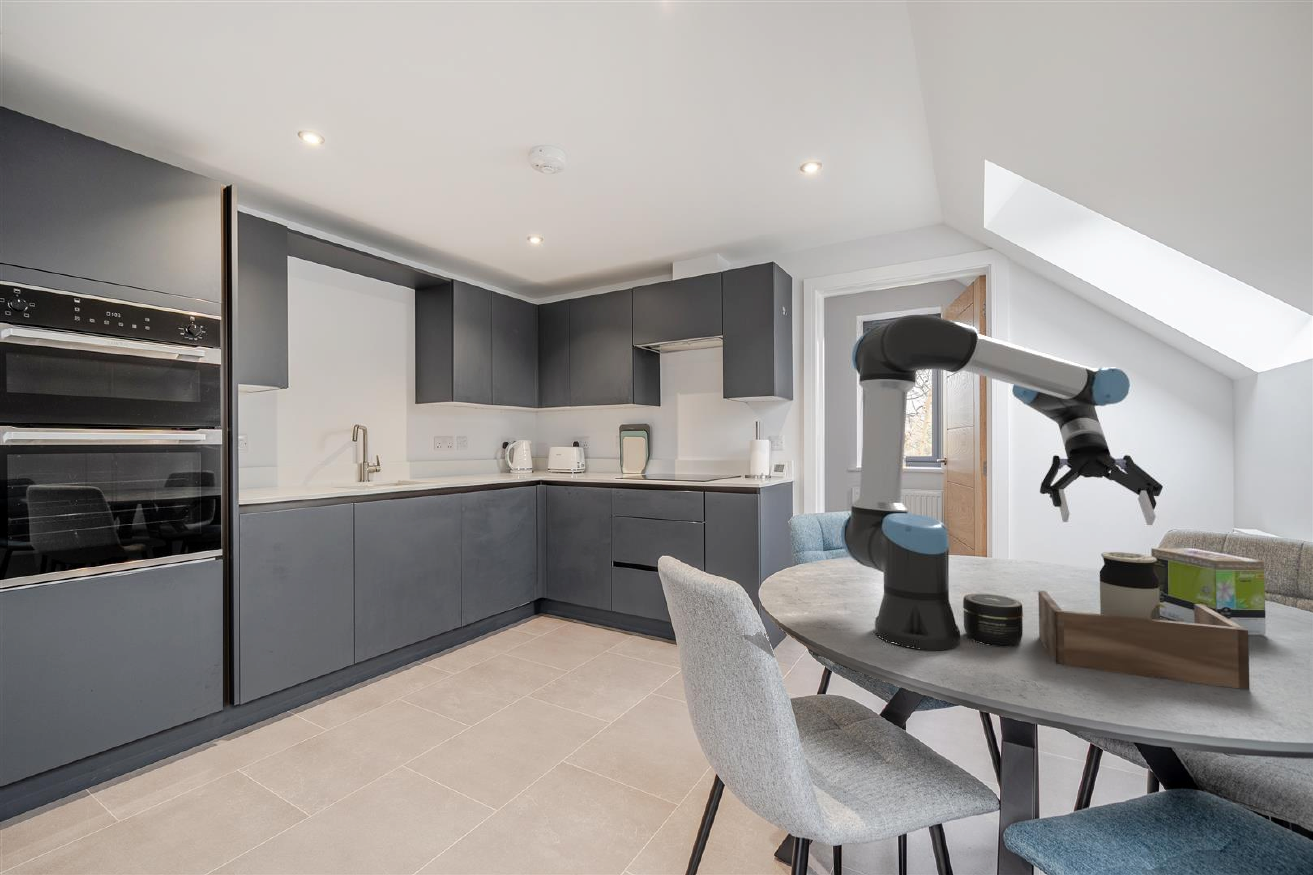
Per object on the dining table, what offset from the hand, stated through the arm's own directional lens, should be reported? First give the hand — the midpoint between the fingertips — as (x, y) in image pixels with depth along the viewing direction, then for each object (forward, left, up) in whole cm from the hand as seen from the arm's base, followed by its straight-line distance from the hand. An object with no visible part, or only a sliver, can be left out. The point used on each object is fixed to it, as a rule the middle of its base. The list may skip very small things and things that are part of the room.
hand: (1107, 519), depth 111 cm
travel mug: (-11, -10, -23) cm, 27 cm away
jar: (-24, +6, -23) cm, 34 cm away
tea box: (+25, -3, -23) cm, 34 cm away
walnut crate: (-11, -10, -23) cm, 27 cm away
